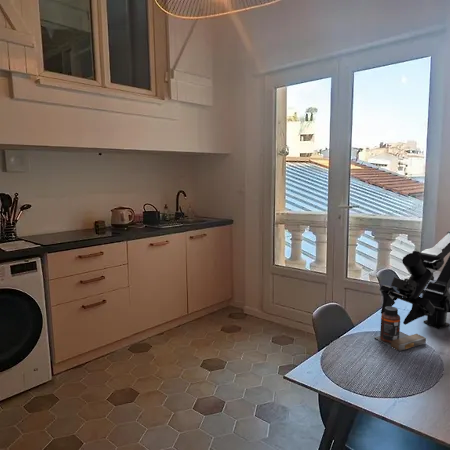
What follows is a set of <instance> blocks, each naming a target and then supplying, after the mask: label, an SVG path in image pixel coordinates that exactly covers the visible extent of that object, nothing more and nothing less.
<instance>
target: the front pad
mask: <svg viewBox="0 0 450 450" xmlns="http://www.w3.org/2000/svg"><path fill="white" fill-rule="evenodd" d="M406 336H410V335H408V334H407V333H404V332H402V331H400V332H399V338H403V337H406ZM374 338H376V339H378V340H379V341H378V340H377V341H378V342H380V341H381V342H380V343H382V342H383V343H382V344H384V343H385V344H384V345H386V344H387V345H386V346H388V345H389V346H388V347H390V346H391V343H388V342H385V341H383V340H382V339H381V338H380V335H379V336H375V337H374ZM376 339H375V340H376Z"/></svg>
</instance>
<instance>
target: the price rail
mask: <svg viewBox="0 0 450 450" xmlns="http://www.w3.org/2000/svg"><path fill="white" fill-rule="evenodd" d="M426 342H427V337H424V336H422V335H420V334H418V333H414V334H410V335H409V336H406V337H403V338H399V339H396V340H392V341H391V347H390V348H392V347H393V348H392V349H394V348H395V349H394V350H396V349H397V350H396V351H398V350H399V351H398V352H401V351H404V350H408V349H411V348H414V347H418V346H421V345H424V344H426Z"/></svg>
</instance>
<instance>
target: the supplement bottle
mask: <svg viewBox="0 0 450 450" xmlns="http://www.w3.org/2000/svg"><path fill="white" fill-rule="evenodd" d="M398 310H399V309H398V308H397V307H395V306H392V307H391V306H387V307H385V310H384V311H385V312H384V313H382V314H381V317H380V328H379V329H380V330H379V331H380V332H379V336H380V338H381V339H382V340H383V341H385V342H388V343H391V341H392V340H396V339H399V332H401V331H400V330H401V316H400V315H399V313H398V312H399V311H398Z"/></svg>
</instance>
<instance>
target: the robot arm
mask: <svg viewBox="0 0 450 450" xmlns="http://www.w3.org/2000/svg"><path fill="white" fill-rule="evenodd" d="M449 253H450V230H448V231H447V232H446V234H445V235H444V237H442V238H441V239H440V240H439V241H438V242H437V243H436V244H435V245H434V246H433V247H431V248H426V249H424V250H422V251H419V250H413V251H412V252H410V253H408V254H406V255H404V256H403V257H402V260H401V261H402V265H404V268H406V270H407V272H408V274H409V275H410V276H409V278H404V279H401V278H399V277H393V279H392V281H391V284H390V285H388V284H383V285H381V286H380V288H379V290H378V291H380V293H381V295H382V297H383V300H382V301H383V302H382V306H381V310H380V314H381V315H382V313H384V312H385V311H384V310H385V307H387V306H391V307H394V305H395V304H396V302H395V301H397V300H400V301H404V302H406V303H409V304H411V309H410V311H409V312H408V314H407V315H406V317H405V318H404V320H403V321H402V323H403V325H405V326H406V325H408V324H410V323H412V322H413V321H416V320H417V319H420V318H422V317H424V316H425V317H427V318H426V319H425V320H423V323H424V324H427V325H429V326H432V327H435V328H437V329H441V328H446V327H448V326H450V323H449V322H447V316H448V314H447V313H450V255H449V256H448V258H447V260H446V262H445V260H444V258H445V257H446V256H447V255H448V254H449ZM441 268H442V269H441ZM440 269H441V271H440V272H439V275H438V277H437V279H436V281H434V280H435V277H434V273H433V272H432V271H439V270H440ZM431 270H432V271H431ZM395 288H396V290H395ZM421 294H422V296H421Z"/></svg>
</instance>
